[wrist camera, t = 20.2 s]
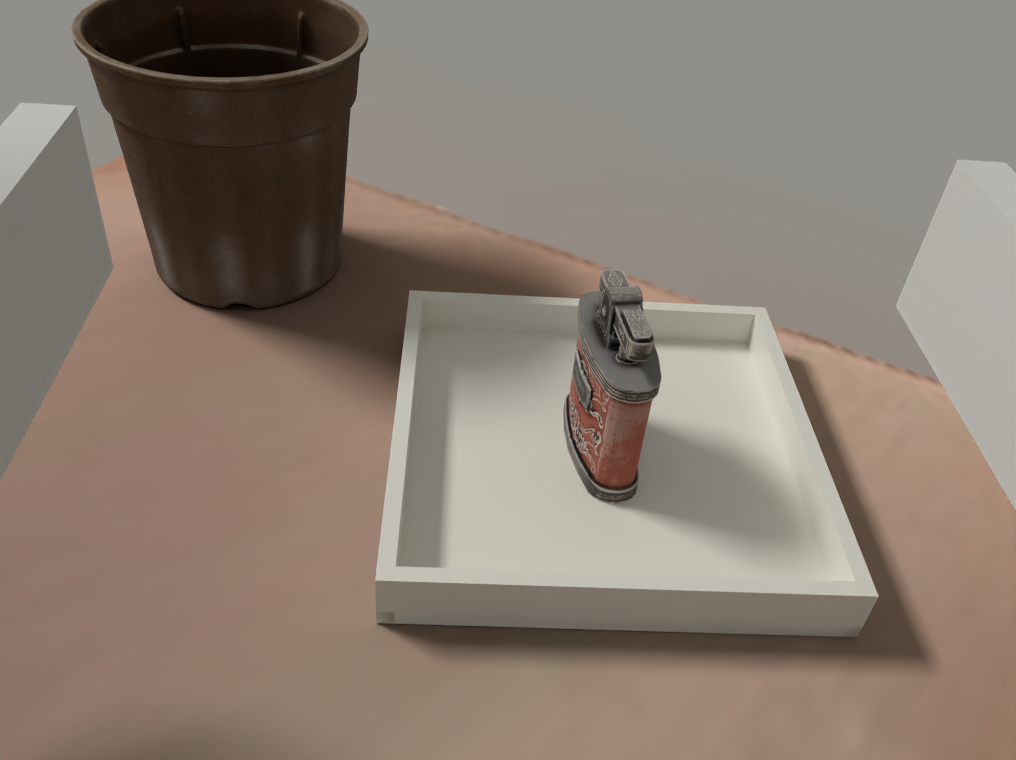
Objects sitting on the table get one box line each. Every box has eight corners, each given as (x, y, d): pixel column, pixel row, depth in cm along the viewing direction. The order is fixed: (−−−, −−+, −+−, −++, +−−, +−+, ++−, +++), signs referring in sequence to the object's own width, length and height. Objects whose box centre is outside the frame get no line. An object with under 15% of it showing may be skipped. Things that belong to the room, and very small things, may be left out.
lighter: (553, 401, 53) (572, 250, 47) (610, 398, 54) (638, 248, 47) (584, 505, 47) (612, 348, 41) (648, 501, 48) (686, 345, 41)
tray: (376, 623, 42) (375, 580, 40) (409, 330, 59) (409, 290, 57) (857, 637, 43) (878, 596, 41) (753, 346, 60) (765, 307, 58)
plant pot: (420, 248, 66) (423, 17, 56) (266, 365, 55) (235, 104, 45) (244, 182, 72) (217, -40, 62) (72, 276, 61) (4, 25, 51)
